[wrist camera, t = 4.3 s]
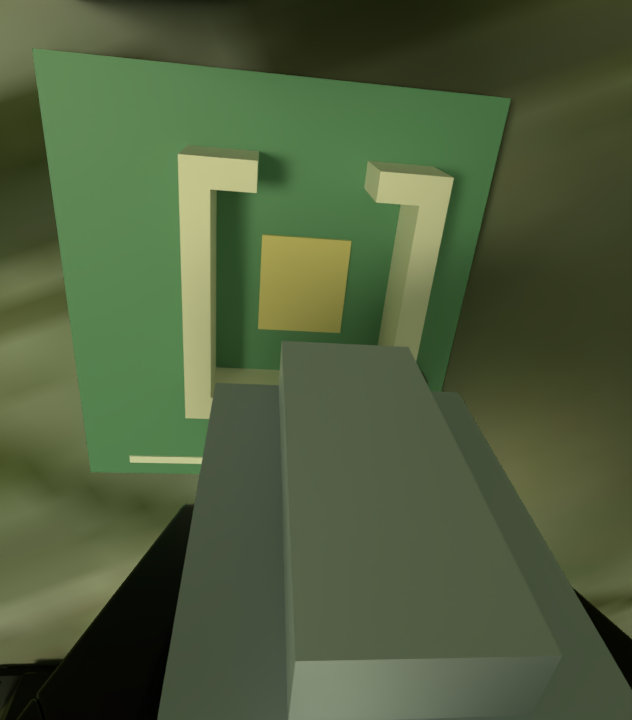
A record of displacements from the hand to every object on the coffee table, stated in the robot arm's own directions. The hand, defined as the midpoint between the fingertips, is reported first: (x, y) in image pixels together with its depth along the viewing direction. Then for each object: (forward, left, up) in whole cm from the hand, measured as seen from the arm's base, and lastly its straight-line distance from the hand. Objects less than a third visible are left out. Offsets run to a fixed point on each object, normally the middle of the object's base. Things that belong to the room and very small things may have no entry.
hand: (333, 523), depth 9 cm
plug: (0, 0, -1) cm, 1 cm away
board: (-1, +1, -11) cm, 11 cm away
